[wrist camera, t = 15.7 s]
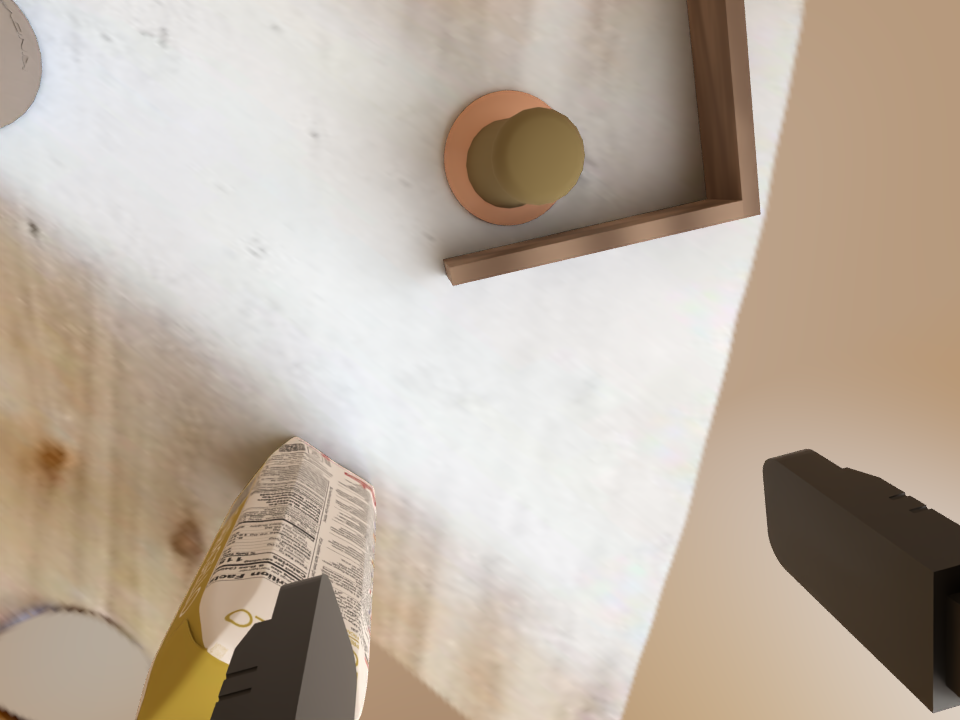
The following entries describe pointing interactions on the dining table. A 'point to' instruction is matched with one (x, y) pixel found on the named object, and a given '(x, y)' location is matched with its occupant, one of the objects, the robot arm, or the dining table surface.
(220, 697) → the robot arm
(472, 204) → the terracotta coaster
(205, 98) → the dining table surface
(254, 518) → the juice carton
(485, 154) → the cork
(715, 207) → the walnut corner walls
